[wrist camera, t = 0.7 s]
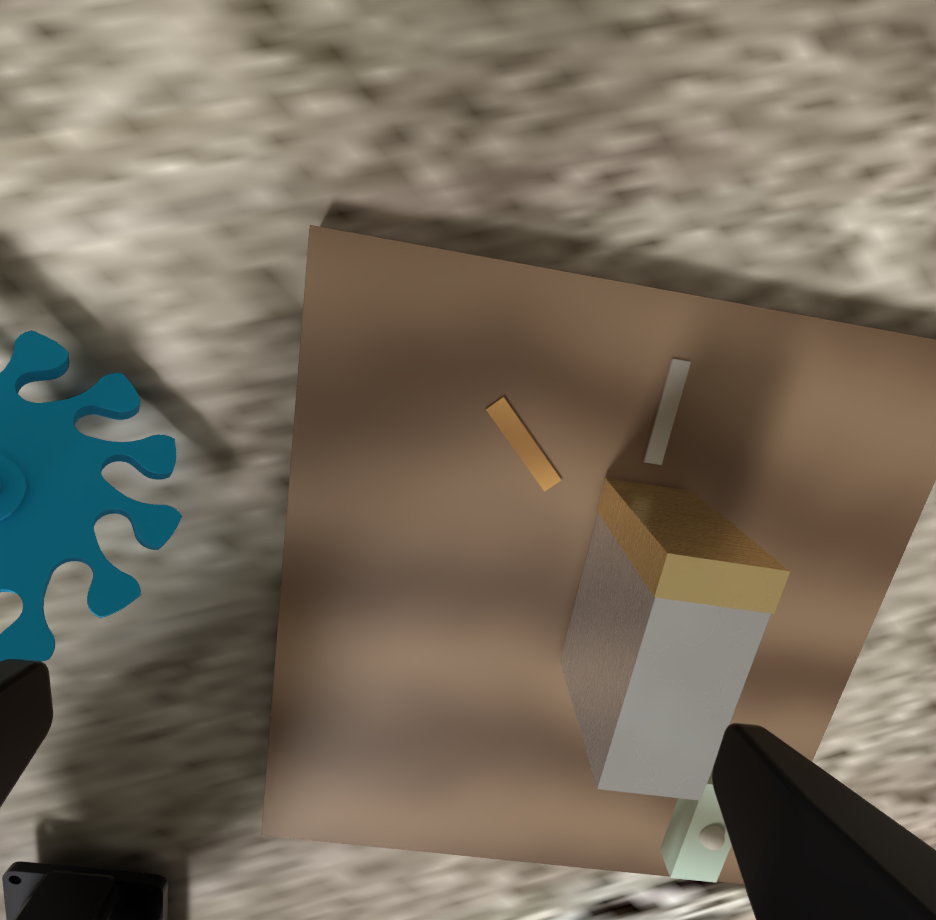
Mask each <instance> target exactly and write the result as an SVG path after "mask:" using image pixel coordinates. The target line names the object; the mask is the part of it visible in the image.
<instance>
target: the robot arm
mask: <svg viewBox="0 0 936 920" xmlns="http://www.w3.org/2000/svg"><path fill="white" fill-rule="evenodd" d="M52 719H53V707H52V697H51V687H50V678H49V670H48V667H47V666H46V664H45V663H43V662H41V661H36V660H24V659H6V660H3V661H0V807H1V806H2V804H3V803H4V801H5V799H6V798H7V796H8V795H9V793H10V792H11V790H12V789H13V787H14V785H15V784H16V782H17V781H18V779H19V778H20V776H21V774H22V773H23V771H24V770H25V768H26V767H27V765H28V764H29V762H30V760H31V759H32V757H33V756H34V754H35V753H36V751H37V749H38V748H39V746H40V745H41V743H42V742H43V740H44V739H45V737H46V735H47V733H48V731H49V729H50V726H51V723H52ZM712 783H713V788H714V792H715V795H716V798H717V801H718V804H719V807H720V811H721V814H722V817H723V820H724V823H725V826H726V829H727V832H728V836H729V839H730V842H731V845H732V848H733V851H734V854H735V857H736V861H737V864H738V867H739V870H740V873H741V876H742V879H743V882H744V886H745V889H746V892H747V895H748V898H749V901H750V904H751V906H752V909H753V912H754V915H755V918H756V920H936V850H935V849H933V848H932V847H931V846H929V845H928V844H926V843H925V842H924V841H922V840H921V839H919V838H918V837H917V836H915V835H914V834H912V833H911V832H910V831H908V830H907V829H905V828H904V827H903V826H901V825H900V824H898V823H897V822H896V821H894V820H893V819H891V818H890V817H889V816H887V815H886V814H884V813H883V812H882V811H880V810H879V809H877V808H876V807H875V806H873V805H872V804H870V803H869V802H868V801H866V800H865V799H863V798H862V797H861V796H859V795H858V794H856V793H855V792H854V791H852V790H851V789H849V788H848V787H847V786H845V785H844V784H842V783H841V782H840V781H838V780H837V779H835V778H834V777H833V776H831V775H830V774H828V773H827V772H826V771H824V770H823V769H821V768H820V767H819V766H817V765H816V764H814V763H813V762H812V761H810V760H809V759H807V758H806V757H805V756H803V755H802V754H800V753H799V752H798V751H796V750H795V749H793V748H792V747H791V746H789V745H788V744H786V743H785V742H784V741H782V740H781V739H779V738H778V737H777V736H775V735H774V734H773V733H771V732H770V731H768V730H767V729H765V728H764V727H762V726H760V725H755V724H744V723H732V724H730V725H729V726H728V727H727V728H726V730H725V732H724V735H723V738H722V741H721V744H720V747H719V750H718V753H717V756H716V759H715V763H714V766H713V770H712ZM2 880H3V889H4V899H5V909H6V919H7V920H167V919H168V882H167V880H166V879H165V878H164V877H163V876H161V875H157V874H148V873H137V872H126V871H116V870H105V869H95V868H84V867H73V866H63V865H52V864H42V863H31V862H15V863H13V864H12V865H11V866H10V867H9V869H8V870H7V871H6V872H5V874H4V875H3V878H2Z"/></svg>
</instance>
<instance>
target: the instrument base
mask: <svg viewBox="0 0 936 920" xmlns="http://www.w3.org/2000/svg"><path fill="white" fill-rule="evenodd" d="M605 478H610V479H617V480H623V481H629V482H636V483H642V484H649V485H655V486H662V487H668V488H675V489H681V490H687V491H693V492H694V493H695V494H697V495H698V496H699V497H700V498H702V499H703V500H704V501H705V502H706V503H708V504H709V505H710V506H711V507H713V508H714V509H715V510H716V511H717V512H719V513H720V514H721V515H722V516H724V517H725V518H726V519H727V520H728V521H730V522H731V523H732V524H733V525H735V526H736V527H737V528H738V529H739V530H741V531H742V532H743V533H744V534H746V535H747V536H748V537H749V538H750V539H752V540H753V541H754V542H755V543H757V544H758V545H759V546H760V547H761V548H763V549H764V550H765V551H766V552H767V553H769V554H770V555H771V556H772V557H774V558H775V559H776V560H777V561H778V562H780V563H781V564H782V565H783V566H785V567H786V568H787V569H788V570H789V571H790V574H789V576H788V579H787V582H786V584H785V587H784V590H783V592H782V595H781V598H780V600H779V603H778V605H777V608H776V611H775V613H774V614H771V615H770V617H769V620H768V623H767V625H766V628H765V631H764V633H763V636H762V639H761V641H760V644H759V647H758V649H757V652H756V655H755V657H754V660H753V663H752V665H751V668H750V671H749V673H748V676H747V679H746V681H745V684H744V687H743V689H742V692H741V695H740V697H739V700H738V703H737V705H736V708H735V711H734V713H733V716H732V718H731V721H730V724H732V723H744V724H755V725H760V726H762V727H764V728H765V729H767V730H768V731H770V732H771V733H773V734H774V735H775V736H777V737H778V738H779V739H781V740H782V741H784V742H785V743H786V744H788V745H789V746H791V747H792V748H793V749H795V750H796V751H798V752H799V753H800V754H802V755H803V756H805V757H806V758H807V759H809V760H810V761H812V760H813V758H814V756H815V754H816V751H817V749H818V747H819V745H820V742H821V740H822V738H823V735H824V733H825V731H826V729H827V726H828V724H829V722H830V719H831V717H832V715H833V713H834V710H835V708H836V706H837V704H838V701H839V699H840V697H841V694H842V692H843V690H844V688H845V685H846V683H847V681H848V678H849V676H850V674H851V672H852V669H853V667H854V665H855V663H856V660H857V658H858V656H859V653H860V651H861V649H862V647H863V644H864V642H865V640H866V638H867V635H868V633H869V631H870V628H871V626H872V624H873V622H874V619H875V617H876V615H877V612H878V610H879V608H880V606H881V603H882V601H883V599H884V597H885V594H886V592H887V590H888V587H889V585H890V583H891V581H892V578H893V576H894V574H895V571H896V569H897V567H898V565H899V562H900V560H901V558H902V556H903V553H904V551H905V549H906V546H907V544H908V542H909V540H910V537H911V535H912V533H913V530H914V528H915V526H916V524H917V521H918V519H919V517H920V515H921V512H922V510H923V508H924V505H925V503H926V501H927V499H928V496H929V494H930V492H931V490H932V487H933V485H934V483H935V480H936V339H931V338H925V337H920V336H914V335H909V334H903V333H898V332H892V331H887V330H881V329H876V328H871V327H865V326H860V325H854V324H849V323H843V322H838V321H832V320H827V319H821V318H816V317H810V316H805V315H799V314H794V313H789V312H783V311H778V310H772V309H767V308H761V307H756V306H750V305H745V304H739V303H734V302H728V301H723V300H718V299H712V298H707V297H701V296H696V295H690V294H685V293H679V292H674V291H668V290H663V289H657V288H652V287H647V286H641V285H636V284H630V283H625V282H619V281H614V280H608V279H603V278H597V277H592V276H586V275H581V274H576V273H570V272H565V271H559V270H554V269H548V268H543V267H537V266H532V265H526V264H521V263H515V262H510V261H504V260H499V259H494V258H488V257H483V256H477V255H472V254H466V253H461V252H455V251H450V250H444V249H439V248H433V247H428V246H423V245H417V244H412V243H406V242H401V241H395V240H390V239H384V238H379V237H373V236H368V235H362V234H357V233H352V232H346V231H341V230H335V229H330V228H324V227H319V226H313V225H310V229H309V241H308V254H307V267H306V279H305V292H304V304H303V317H302V329H301V342H300V354H299V367H298V379H297V392H296V405H295V417H294V430H293V442H292V455H291V467H290V480H289V492H288V505H287V517H286V530H285V542H284V555H283V568H282V580H281V593H280V605H279V618H278V630H277V643H276V655H275V668H274V680H273V693H272V705H271V718H270V731H269V743H268V756H267V768H266V781H265V793H264V806H263V818H262V831H261V835H263V836H273V837H283V838H293V839H303V840H313V841H323V842H333V843H342V844H352V845H362V846H372V847H382V848H392V849H402V850H412V851H422V852H432V853H442V854H452V855H462V856H471V857H481V858H491V859H501V860H511V861H521V862H531V863H541V864H551V865H561V866H571V867H581V868H591V869H600V870H610V871H620V872H630V873H640V874H650V875H660V876H670V878H678V879H688V880H698V881H708V882H717V881H720V882H729V883H739V884H744V882H743V879H742V876H741V873H740V870H739V867H738V864H737V861H736V857H735V854H734V851H733V848H732V845H731V842H730V839H729V836H728V832H727V829H726V826H725V823H724V820H723V817H722V814H721V811H720V807H719V804H718V801H717V798H716V795H715V792H714V788H713V783H712V772H711V774H710V777H709V780H708V782H707V785H706V788H705V790H704V793H703V796H702V798H701V801H700V800H691V799H682V798H673V797H664V796H655V795H646V794H637V793H628V792H619V791H610V790H601V789H597V786H596V783H595V779H594V776H593V773H592V769H591V766H590V762H589V759H588V755H587V752H586V749H585V745H584V742H583V738H582V735H581V731H580V728H579V725H578V721H577V718H576V714H575V711H574V707H573V704H572V701H571V697H570V694H569V690H568V687H567V683H566V680H565V677H564V673H563V670H562V666H561V663H560V659H561V655H562V651H563V647H564V643H565V639H566V635H567V632H568V628H569V624H570V620H571V616H572V612H573V608H574V604H575V600H576V596H577V593H578V589H579V585H580V581H581V577H582V573H583V569H584V565H585V561H586V557H587V553H588V550H589V546H590V542H591V538H592V534H593V530H594V526H595V522H596V518H597V514H598V512H597V507H598V503H599V499H600V495H601V491H602V487H603V483H604V479H605ZM730 724H729V725H730ZM712 770H713V769H712Z"/></svg>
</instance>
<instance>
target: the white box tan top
mask: <svg viewBox="0 0 936 920" xmlns="http://www.w3.org/2000/svg"><path fill="white" fill-rule="evenodd" d="M597 512H598V514H597V518H596V522H595V526H594V530H593V534H592V538H591V542H590V546H589V550H588V553H587V557H586V561H585V565H584V569H583V573H582V577H581V581H580V585H579V589H578V593H577V596H576V600H575V604H574V608H573V612H572V616H571V620H570V624H569V628H568V632H567V635H566V639H565V643H564V647H563V651H562V655H561V659H560V663H561V666H562V670H563V673H564V677H565V680H566V683H567V687H568V690H569V694H570V697H571V701H572V704H573V707H574V711H575V714H576V718H577V721H578V725H579V728H580V731H581V735H582V738H583V742H584V745H585V749H586V752H587V755H588V759H589V762H590V766H591V769H592V773H593V776H594V779H595V783H596V786H597V789H601V790H610V791H619V792H628V793H637V794H646V795H655V796H664V797H673V798H682V799H691V800H700V801H701V798H702V796H703V793H704V790H705V788H706V785H707V782H708V780H709V777H710V774H711V772H712V769H713V766H714V763H715V759H716V756H717V753H718V750H719V747H720V744H721V741H722V738H723V735H724V732H725V730H726V728H727V727H728V726H729V724H730V721H731V718H732V716H733V713H734V711H735V708H736V705H737V703H738V700H739V697H740V695H741V692H742V689H743V687H744V684H745V681H746V679H747V676H748V673H749V671H750V668H751V665H752V663H753V660H754V657H755V655H756V652H757V649H758V647H759V644H760V641H761V639H762V636H763V633H764V631H765V628H766V625H767V623H768V620H769V617H770V615H771V614H774V613H775V611H776V608H777V605H778V603H779V600H780V598H781V595H782V592H783V590H784V587H785V584H786V582H787V579H788V576H789V574H790V571H789V570H788V569H787V568H786V567H785V566H783V565H782V564H781V563H780V562H778V561H777V560H776V559H775V558H774V557H772V556H771V555H770V554H769V553H767V552H766V551H765V550H764V549H763V548H761V547H760V546H759V545H758V544H757V543H755V542H754V541H753V540H752V539H750V538H749V537H748V536H747V535H746V534H744V533H743V532H742V531H741V530H739V529H738V528H737V527H736V526H735V525H733V524H732V523H731V522H730V521H728V520H727V519H726V518H725V517H724V516H722V515H721V514H720V513H719V512H717V511H716V510H715V509H714V508H713V507H711V506H710V505H709V504H708V503H706V502H705V501H704V500H703V499H702V498H700V497H699V496H698V495H697V494H695V493H694V492H693V491H687V490H681V489H675V488H668V487H662V486H655V485H649V484H642V483H636V482H629V481H623V480H617V479H610V478H605V479H604V483H603V487H602V491H601V495H600V499H599V503H598V507H597Z"/></svg>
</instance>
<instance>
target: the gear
mask: <svg viewBox="0 0 936 920" xmlns="http://www.w3.org/2000/svg"><path fill="white" fill-rule="evenodd" d="M68 367H69V352H68V351H67V350H66V349H65V348H64V347H63V346H61V345H60V344H58V343H57V342H55V341H53V340H52V339H50V338H48V337H46V336H44V335H41V334H39V333H37V332H35V331H32V330H31V331H28V332H25V333H23V334H22V335H20V336H19V337H18V338H17V339H16V341H15V344H14V351H13V355H12V357H11V360H10V362H9V363H8V365H7V366H6V368H5V369H4V370H3V371H2V372H1V373H0V592H13V593H15V594H18V595H19V596H20V597H21V599H22V602H23V610H22V613H21V615H20V616H19V618H18V619H17V620H16V621H15V622H14V623H13V624H11V625H10V626H9V627H8V628H7V629H6V630H4V631H3V632H2V633H1V634H0V661H3V660H6V659H24V660H36V661H41V662H42V661H46V660H49V659H50V657H51V656H52V654H53V652H54V649H55V639H54V635H53V634H52V632H51V631H50V629H49V628H48V625H47V623H46V620H45V616H44V609H43V607H44V597H45V593H46V589H47V586H48V584H49V581H50V578H51V576H52V574H53V572H54V570H55V569H56V568H57V567H59V566H60V565H61V564H64V563H66V562H70V561H80V562H83V563H86V564H87V565H88V566H89V567H90V568H91V569H92V571H93V580H92V583H91V586H90V589H89V591H88V596H87V603H88V607H89V609H90V610H91V612H92V613H93V614H94V615H95V616H97V617H99V618H102V617H106V616H109V615H111V614H113V613H115V612H118V611H119V610H121V609H123V608H124V607H126V606H127V605H129V604H130V603H131V602H133V601H134V600H135V599H137V598H138V597H139V596H140V595H141V590H140V586H139V584H138V582H137V581H136V580H135V579H134V578H133V577H132V576H130V575H128V574H126V573H124V572H121V571H120V570H119V569H117V568H116V567H114V566H113V565H112V564H111V563H110V562H109V561H108V560H107V559H106V558H105V556H104V555H103V553H102V552H101V550H100V547H99V545H98V542H97V539H96V536H95V532H94V525H95V523H96V522H97V520H98V519H100V518H101V517H102V516H104V515H107V514H114V513H116V514H121V515H123V516H125V517H126V518H128V519H129V521H130V522H131V524H132V527H133V531H134V534H135V537H136V539H137V541H138V542H139V543H140V544H141V545H142V546H144V547H146V548H148V549H152V550H159V549H160V548H161V547H162V546H163V545H164V544H165V543H166V542H167V541H168V540H169V538H170V537H171V536H172V534H173V533H174V531H175V529H176V528H177V526H178V524H179V522H180V520H181V518H182V516H181V514H180V513H179V512H178V511H177V510H176V509H175V508H173V507H171V506H167V505H153V504H146V503H142V502H138V501H135V500H133V499H131V498H129V497H126V496H124V495H123V494H122V493H120V492H119V491H117V490H116V489H115V488H114V487H112V486H111V485H110V484H109V483H108V482H106V481H105V479H104V478H103V477H102V475H101V471H102V469H103V468H104V467H105V466H106V465H108V464H110V463H112V462H116V461H122V462H127V463H129V464H131V465H132V466H134V467H135V468H136V469H137V470H138V471H139V472H141V473H142V474H143V475H145V476H146V477H148V478H151V479H166V478H168V477H170V475H171V473H172V471H173V469H174V466H175V462H176V446H175V439H174V438H172V437H170V436H166V435H153V436H150V437H147V438H145V439H141V440H137V441H132V442H111V441H106V440H101V439H97V438H93V437H89V436H86V435H83V434H82V433H80V432H79V431H78V430H77V429H76V428H75V426H74V425H75V422H76V421H77V420H78V419H79V418H81V417H83V416H85V415H89V414H95V415H100V416H104V417H108V418H111V419H116V420H123V419H128V418H131V417H133V416H134V415H136V414H137V413H138V411H139V407H140V399H139V396H138V394H137V392H136V390H135V388H134V387H133V385H132V384H131V383H130V381H129V380H128V379H127V378H126V377H125V375H124V374H123V373H112V374H108V375H105V376H104V377H102V378H101V379H100V380H99V381H98V382H97V383H96V384H95V385H94V386H93V387H91V388H90V389H89V390H87V391H86V392H84V393H82V394H80V395H78V396H75V397H72V398H69V399H65V400H59V401H53V402H45V403H33V402H29V401H26V400H24V399H23V398H21V397H20V396H19V395H18V392H19V390H20V389H21V387H22V386H24V385H25V384H27V383H30V382H34V381H44V380H51V379H56V378H58V377H60V376H62V375H63V374H64V373H65V372H66V371H67V369H68Z"/></svg>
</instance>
